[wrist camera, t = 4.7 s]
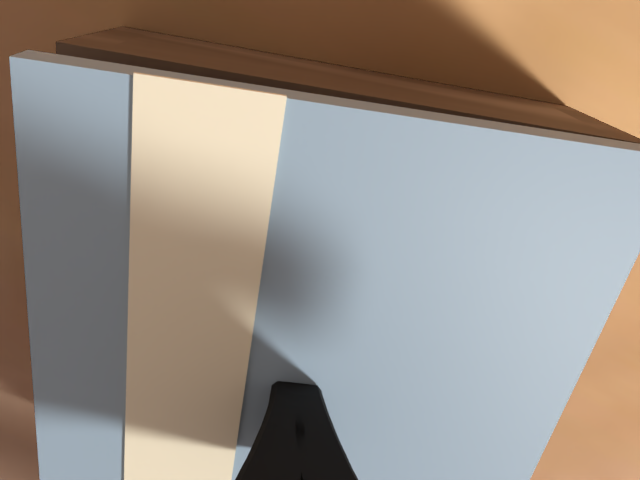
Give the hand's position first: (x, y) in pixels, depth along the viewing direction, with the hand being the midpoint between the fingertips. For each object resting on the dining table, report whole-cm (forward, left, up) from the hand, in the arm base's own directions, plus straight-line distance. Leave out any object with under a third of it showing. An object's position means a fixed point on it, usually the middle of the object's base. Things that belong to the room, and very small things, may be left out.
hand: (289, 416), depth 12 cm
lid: (0, -1, -1) cm, 1 cm away
